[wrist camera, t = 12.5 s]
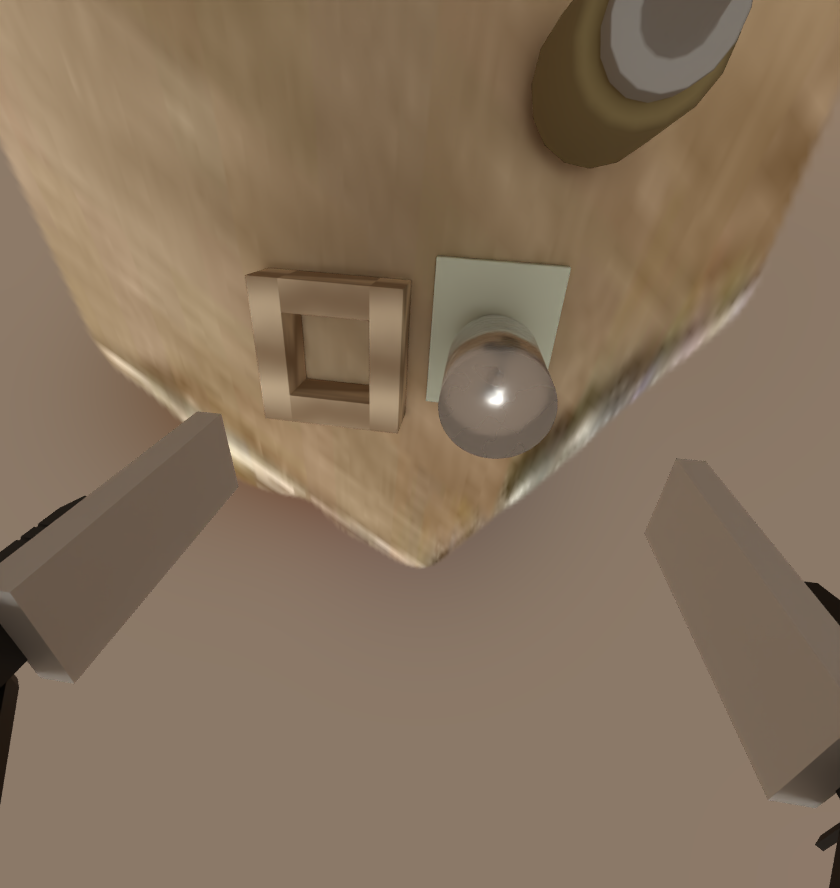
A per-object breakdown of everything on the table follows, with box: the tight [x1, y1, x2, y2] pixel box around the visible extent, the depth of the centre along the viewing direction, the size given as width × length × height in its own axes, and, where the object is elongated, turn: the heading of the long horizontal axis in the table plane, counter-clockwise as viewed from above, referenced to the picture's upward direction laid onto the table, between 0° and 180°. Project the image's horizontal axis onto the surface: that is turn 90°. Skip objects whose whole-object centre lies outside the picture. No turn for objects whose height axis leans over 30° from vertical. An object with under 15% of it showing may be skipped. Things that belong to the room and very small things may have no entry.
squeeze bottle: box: [532, 0, 752, 168], centre depth 19 cm, size 8×8×18 cm
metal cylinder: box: [438, 314, 557, 459], centre depth 29 cm, size 6×6×13 cm
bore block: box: [245, 268, 411, 434], centre depth 36 cm, size 12×12×4 cm
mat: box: [426, 255, 571, 402], centre depth 35 cm, size 12×10×1 cm
